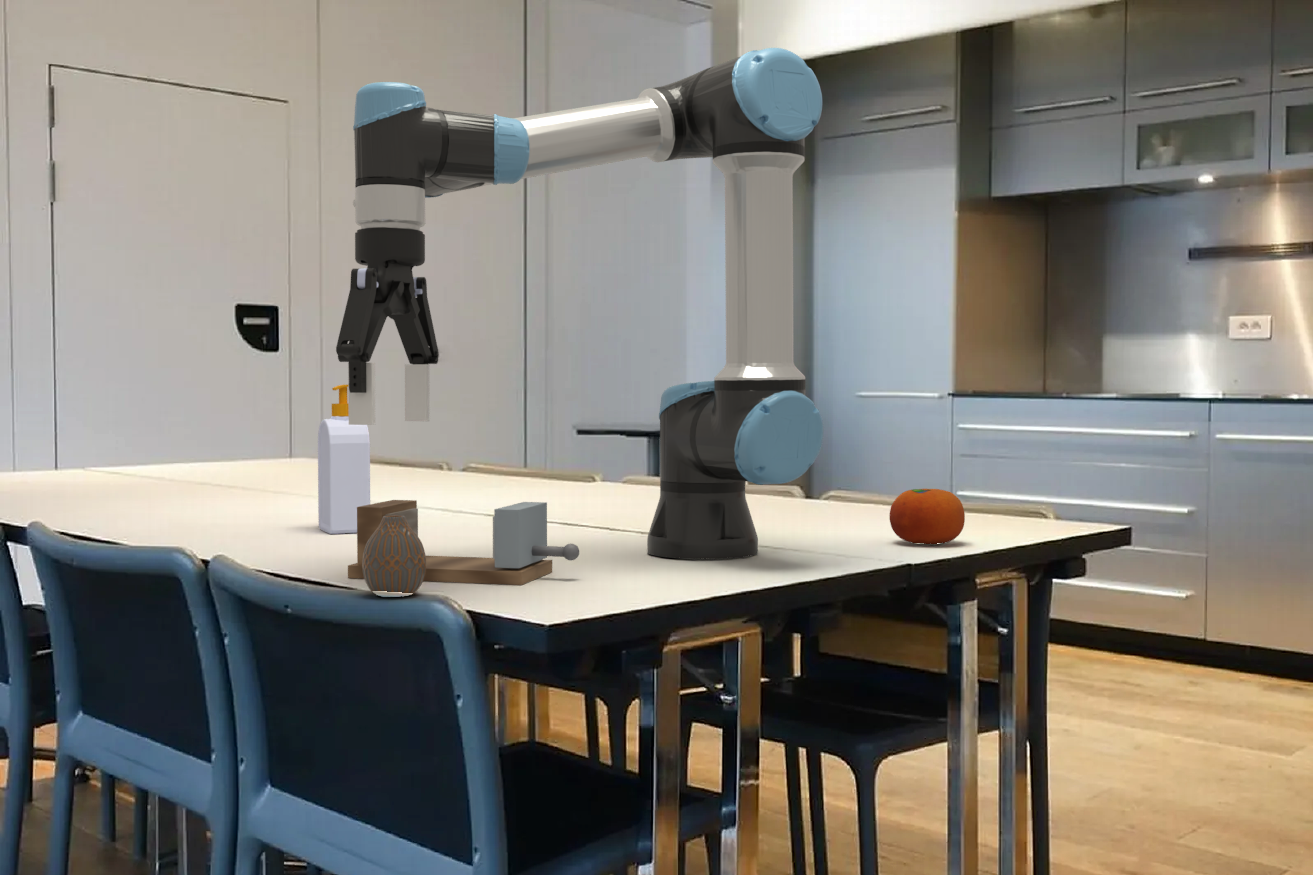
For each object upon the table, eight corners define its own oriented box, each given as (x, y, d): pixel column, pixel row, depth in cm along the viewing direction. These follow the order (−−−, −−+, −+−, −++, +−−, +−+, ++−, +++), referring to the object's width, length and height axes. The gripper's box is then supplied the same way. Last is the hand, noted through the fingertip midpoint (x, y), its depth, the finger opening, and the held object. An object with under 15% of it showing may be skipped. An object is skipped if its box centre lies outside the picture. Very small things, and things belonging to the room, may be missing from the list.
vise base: (552, 572, 169) (552, 503, 169) (521, 585, 158) (521, 511, 158) (388, 565, 175) (387, 499, 174) (347, 577, 164) (347, 507, 164)
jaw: (591, 559, 167) (591, 503, 167) (565, 570, 158) (565, 511, 157) (519, 556, 170) (519, 501, 169) (489, 567, 160) (489, 509, 160)
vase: (366, 591, 154) (366, 513, 154) (428, 590, 155) (428, 512, 154) (358, 600, 147) (357, 519, 147) (423, 600, 148) (423, 519, 148)
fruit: (940, 538, 205) (941, 485, 205) (977, 547, 195) (978, 491, 195) (876, 541, 202) (877, 487, 202) (911, 550, 192) (911, 493, 192)
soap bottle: (375, 532, 212) (374, 384, 211) (330, 534, 209) (329, 384, 208) (361, 527, 220) (360, 384, 220) (318, 529, 217) (316, 384, 217)
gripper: (408, 240, 163) (408, 419, 164) (301, 216, 139) (302, 425, 140) (466, 239, 161) (467, 420, 162) (368, 214, 137) (369, 426, 138)
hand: (390, 423), depth 151 cm, fingers open, 13 cm apart
